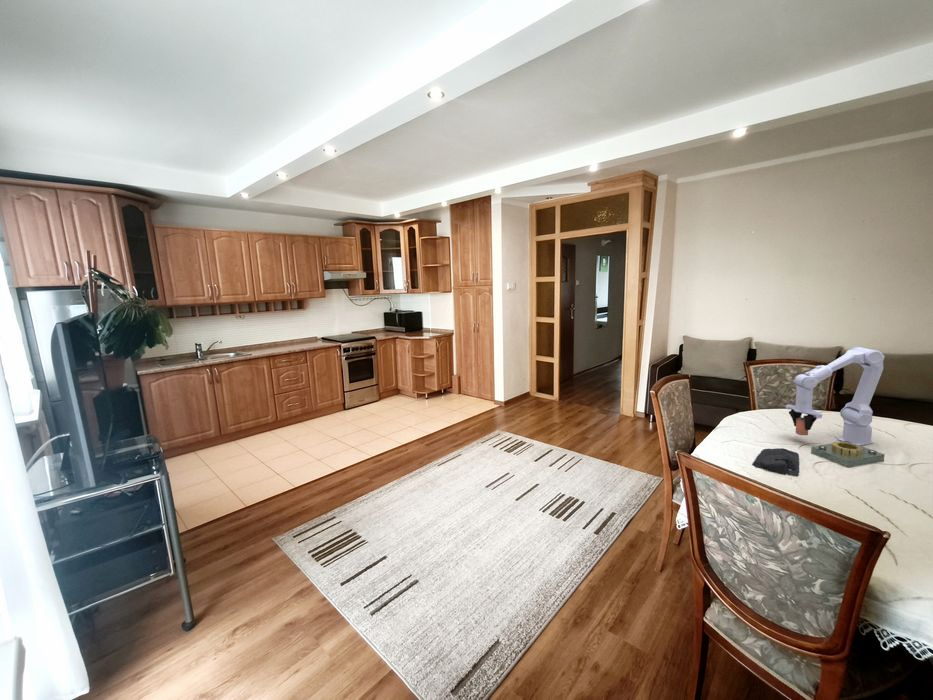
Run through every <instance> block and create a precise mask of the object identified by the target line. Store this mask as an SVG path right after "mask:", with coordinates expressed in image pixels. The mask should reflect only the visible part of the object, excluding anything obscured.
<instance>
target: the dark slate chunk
mask: <svg viewBox="0 0 933 700" xmlns="http://www.w3.org/2000/svg"><path fill="white" fill-rule="evenodd" d="M751 466H754V467H755V468H756V469H761V470H765V471H769V472H772V473H775V474H780V475H787V476H794V477H798V476H799V475H800V454H799V453H798V452H796V451H792V450H789V449H786V448H784V447H783V448H781V447H780V448H764V449H762V450H761V451H760V453H758V455H757V456H756V457H755V459H754V461H753V462H752V463H751Z"/></svg>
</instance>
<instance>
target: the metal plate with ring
mask: <svg viewBox="0 0 933 700" xmlns="http://www.w3.org/2000/svg"><path fill="white" fill-rule="evenodd" d="M810 449H811V450H810V453H811V454H813V455H815V456H817V457H820V458H823V459H825V460H827V461H830V462H833V463H836V464H837V465H840V466H842V467H845V468H848V469H849V468H853V467H857V466H863V465H868V464H875V463H881V462H885V453H882V452H880V451H879V452H878V451H877V450H874V449H870V448H867V447H864V446H863V445H860V446H859V445H856V444H853V443H851V442H848V441H833V442H832V443H827V444H820V445H813V446H811V448H810Z"/></svg>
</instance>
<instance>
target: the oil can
mask: <svg viewBox="0 0 933 700" xmlns="http://www.w3.org/2000/svg"><path fill="white" fill-rule="evenodd" d="M795 434H796V435H800V436H808V435H809V430H805V420H804V417H802V416H801V417H799V418H796V426H795Z"/></svg>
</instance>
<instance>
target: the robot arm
mask: <svg viewBox="0 0 933 700" xmlns="http://www.w3.org/2000/svg"><path fill="white" fill-rule="evenodd" d="M885 357H886V356H885V355H884V354H883V353H882V352H881V351H880V350H877V349H871V348H866V347H861V346H855V347H853V348H851V349H848V350H847V351H846V352H845V354H843V355H842V356H839V357H838V358H836V359H835V360H833V361H832V362H830V363H827V365H823V364H821V365H816V366H815V368H813V369H811V370H809V371H806V372H805V373H802V374H798V375H796V376H795V378H794V379H793V384H794V385H795V390H796V392H795V404H794V405H793V404H786V405H785V409H786V410H788V414H789V415H790V417H791V420H792V423H793V427H796V418H799V417H802V415H803V414H804V415H803V417H802V418H804V420H805V430H808V431H810V430H812V427H813V425H814V423H815V422H816V421H817V419H822V418H823V413H822V412H818V411H816V410H814V409H813V396H814V388H816V387H817V386H818V384H819V383H820V382H821V381H824V380H826V379H827V378H829V377H832V376H833V372H835V371H837V370H840V369H842V368H844V367H846V366H848V365H850V364H859V365H860V366H861V367H862V368H863V371H862V375H861V377H860V379H859V382H858V383H857V387H856V390H855V393H854V395H853V397H852V399H851V401H849V402H847V403H845V406H844V407H843V408H842V409H841V410H840V412H839V413H840V414H839V415H840V417H841V418H842V419H843V429H842V437H838V438H836V441H839V442H843V441H848V442H851V443H853V444H856V445H859V446H864V445H870V444H874V441H872V437H873V436H872V433H873V428H872V426H871V423H872V422H873V413H874V411H873V409H872V408H871V406H870V404H871V401H872V398H873V396H874V395H875V391H876V389H877V386H878V383H879V381H880V378H881V376H882V374H883V371H884V361H885ZM789 410H790V411H789Z"/></svg>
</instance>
